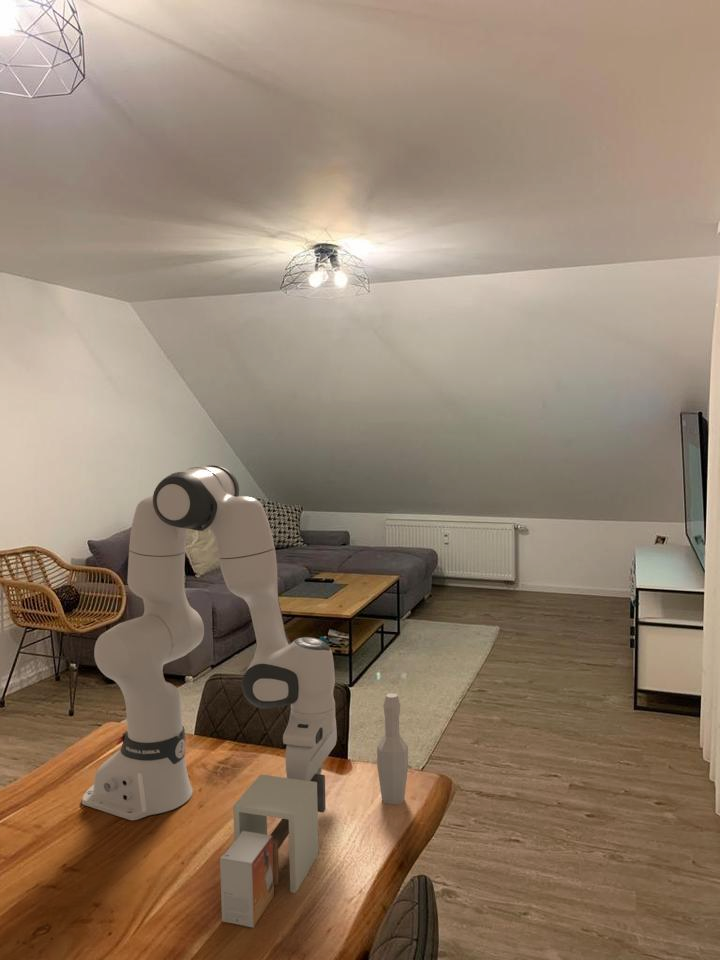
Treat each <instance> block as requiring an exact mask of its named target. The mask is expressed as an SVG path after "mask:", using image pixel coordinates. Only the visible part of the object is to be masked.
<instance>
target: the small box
mask: <svg viewBox="0 0 720 960" xmlns="http://www.w3.org/2000/svg"><path fill="white" fill-rule="evenodd" d="M219 867H220V868H219V869H220V870H219V871H220V897H221V898H220V899H221V901H220V902H221V922H223V923H228V924H233V925H239V926H243V927H247V928H248V927H249V928H255V927H256V924H257V923H258V921H259V919H260V918H261V916H262V915H263V913H264V911H265V910H266V908H268V905H269V904H270V903H271V901H272V900H273V899H274V897H275V896H274V894H275V893H274V892H275V891H274V888H275V887H274V886H275V885H274V884H273V841H272V836H271V834H270V835H269V834H267V835H265V834H260V833H254V832H248V831H242V832H241V834H240V835H239V836H238V838H237V839H236V840H235V841H233V842H232V843H231V845H229V847H228V849H227V850H226V851H225V852H224V854H222V855H221V856H220V858H219Z"/></svg>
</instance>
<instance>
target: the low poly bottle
mask: <svg viewBox="0 0 720 960" xmlns="http://www.w3.org/2000/svg"><path fill="white" fill-rule="evenodd" d="M384 698H385V699H384V700H383V701H384V702H383V712H384V713H383V714H384V729H385V730H384V732H385V733H384V735H383V737H382V738H381V740H380V741H379V743H378V744H377V745H376V760H377V761H376V762H377V763H376V764H377V765H376V766H377V772H378V773H377V774H378V779H379V780H378V781H379V787H380V795H381V800H382V802H383V804H385V803H386V804H385V805H391V806H394V805H401V804H403V802H404V800H405V799H406V798H405V796H406V788H407V787H406V786H407V781H408V780H407V779H408V770H409V769H408V768H409V745H408V744H407V743H406V741H405V740H404V739H403V738H402V736H401V735H400V712H401V703H400V700H399V696H398V694H396V693H387V694H386V695H385V697H384Z"/></svg>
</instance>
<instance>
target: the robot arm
mask: <svg viewBox="0 0 720 960" xmlns="http://www.w3.org/2000/svg"><path fill="white" fill-rule="evenodd" d="M239 495H240V486H239V482H238V480H237V478H236V476H235V475H234V474H233V473H232V472H231V471H230V470H228V469H227V468H224V467H222V466H219V465H206V466H194V467H190V468H188V469H185V470H182V471H176V472H173V473H171V474H169V475H167V476H166V477H164V478H163V479H162V480H161V481H160V482H159V483H158V484H157V486H156V487H155V488H154V491H153V495H151V496H147V497H145V498H144V499H142V500H141V501H139V503H138V504H137V506H136V508H135V512H134V515H133V519H132V524H131V529H130V536H129V546H128V563H127V564H128V565H127V580H126V581H127V585H128V589H129V590H130V591H131V592H132V594H134V595H135V596H137V597H139V598H140V599H142V601H143V605H144V612H143V615H142V616H139V617H138V616H137V617H135V618H132V619H128V620H126V621H123V622H119V623H118V624H116V625H113V627H111V628H109V629H108V630H106V631H104V632H103V633H101V634H100V635H99V637H97V640H96V641H95V645H94V653H93V654H94V661H95V664H96V666H97V669H99V671H100V672H101V673H102V674H103V675H104V676H105V677H106V678H108V679H110V680H111V681H114V682H115V683H116V684H117V686H118V687H119V689H120V691H121V692H122V695H123V698H124V702H125V712H126V724H127V725H126V726H127V730H126V731H125V732H123V733H122V735H121V736H120V737H118V738H116V740H115V741H117V742H116V743H115V745H117V746H118V745H119V744H121V743H122V745H121V747H120V749H119V750H117V751H116V752H115V753H114V754H112V755H111V756H109V758H108V759H107V760H105V761H104V762H103V763H102V764H101V765H100V766H99V767H98V769H97V771H96V773H95V776H94V779H93V780H94V781H93V784H92V785H91V786H90V787H89V788H88V789H87V790H86V791H85V793H84V794H83V796H82V799H81V804H82V805H84V806H86V807H90V808H92V809H95V810H99V811H102V812H104V813H107V814H110V815H112V816H113V815H114V816H116V817H120V818H122V819H126V820H129V821H137V820H140V819H143V818H145V817H148V816H152V815H157V814H162V813H163V814H164V813H166V812H170V811H172V810H175V809H177V808H179V807H181V806H182V805H184V804H185V803H186V802H188V801H189V800H190V799H191V797H192V795H193V793H194V792H193V791H194V789H193V787H192V784H191V781H190V778H189V774H188V770H187V769H188V768H187V765H186V764H187V763H186V757H185V755H186V734H185V733H186V732H185V731H186V730H185V726H184V725H183V706H182V705H183V704H182V703H183V701H182V699H183V698H182V693H181V691H180V689H179V688H178V687H176V686H175V685H174V684H173V683H170V682H168V681H166V680H165V677H164V676H165V675H164V672H163V669H164V665H166V664H168V663H171V662H172V661H173V662H174V661H176V660H178V659H180V658H183V657H185V656H187V655H188V654H189V653H191V652H192V651H193V650H194V649H196V648H197V647H198V646H199V645H200V644H201V643H202V641H203V639H204V635H205V626H204V622H203V618H202V617H201V616H200V614H199V612H198V611H196V609H194V608H193V607H192V606H191V605H190V603H189V600H188V599H187V594H186V590H185V562H186V544H187V543H186V542H187V533H188V529H189V530H192V531H197V532H198V531H199V532H204V531H205V530H207V529H208V530H209V531H210V532H211V533H212V535H213V536H214V538H215V543H216V547H217V555H218V560H219V561H218V562H219V567H220V570H221V574H222V577H223V581H224V583H225V585H226V587H227V590H228V591H229V592H230V593H232V594H233V595H235V596H237V597H239V598H241V599H243V601H245V602H246V604H247V605H248V606H247V607H248V608H249V612H250V617H251V621H252V626H253V630H254V633H255V640H256V646H255V647H256V648H255V652H254V655H253V658H252V660H251V662H250V664H248V667H247V668H246V670H245V672H244V674H243V676H242V679H241V689H242V693H243V695H244V697H245V699H246V700H247V701H248V702H249V703H250V704H251V705H252V706H254V707H256V708H259V709H274V708H276V709H277V708H280V707H286V706H290V714H289V720H288V723H287V725H286V728H285V731H284V732H283V735H282V741H283V744H284V745H286V748H285V754H284V755H285V772H286V773H285V774H286V778H291V779H298V780H305V781H311V779H312V778H313V776H314V775H315V774H320V775H322V769H323V766H324V762H325V761H326V760H327V758H328V756H329V755H330V753H331V752H332V750H333V749H334V748H335V746H337V740H338V734H337V733H338V731H337V730H338V729H337V720H336V701H335V699H334V688H335V685H336V683H335V679H336V678H335V677H336V676H335V675H336V674H335V662H334V656H333V652H332V649H331V646H330V645H329V644H328V643H326V641H323V640H321V639H319V638H315V637H308V636H305V637H304V636H303V637H299V638H296V639H294V640H293V641H292V642H291V641H290V639H289V637H288V634H287V631H286V628H285V623H284V619H283V618H284V617H283V613H282V609H281V605H280V599H279V593H278V592H279V591H278V589H279V588H278V564H277V563H278V562H277V554H276V553H277V552H276V548H275V542H274V537H273V533H272V528H271V526H270V522H269V519H268V516H267V513H266V511H265V508H264V505H263V503H261V501H260V500H259V499H257V498H254V497H252V496H248V495H247V496H246V495H240V496H239Z"/></svg>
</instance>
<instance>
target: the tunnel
mask: <svg viewBox="0 0 720 960" xmlns="http://www.w3.org/2000/svg"><path fill="white" fill-rule="evenodd" d="M232 809H233V840H234V841H235V840H236V839H237V838H238V836H239V835H240V834H241V832H242V831H248V832H254V833H260V834H265V835H268V818H267V817H269V818H270V817H271V818H277V819H281V820H282V819H288V820H289V834H288V845H289V846H288V851H289V852H288V853H289V856H288V857H289V893H293V894H296V893H298V892H297V891H298V890H299V889H300V887H301V885H302V884H303V881H304V880H305V879H306V877H307V875H308V873H309V871H310V870H311V868H312V866H313V865H314V863H315V861H316V859H317V858H318V856H319V816H318V815H319V814H318V813H319V812H318V806H317V782H313V781H305V780H298V779H291V778H287V777H283V776H282V777H281V776H275V775H267V774H260V775H258V777H257V778H256V779H255V780H254V781H253V782H252V783H251V785H249V787H248V788H247V789H246V790H245V791H244V793H242V795H241V796H240V798H238V799H237V800H236V802H235V803H234V804H233V808H232ZM234 841H233V842H234Z"/></svg>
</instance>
